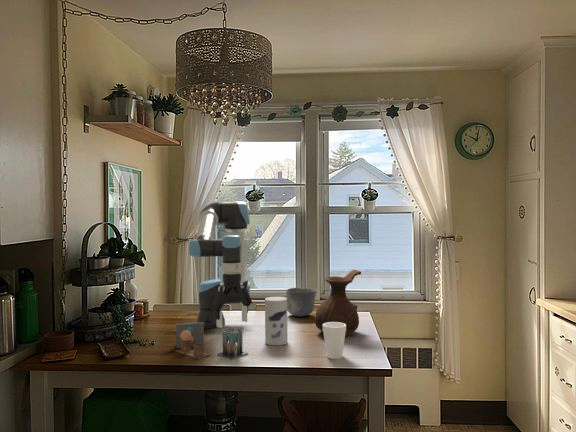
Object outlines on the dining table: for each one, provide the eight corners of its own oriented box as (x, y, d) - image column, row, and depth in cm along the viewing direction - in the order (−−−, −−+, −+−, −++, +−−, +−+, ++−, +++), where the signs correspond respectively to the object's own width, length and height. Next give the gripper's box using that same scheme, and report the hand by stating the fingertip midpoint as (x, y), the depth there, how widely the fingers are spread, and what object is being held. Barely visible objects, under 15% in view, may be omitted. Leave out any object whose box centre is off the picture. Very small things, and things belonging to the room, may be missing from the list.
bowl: (323, 315, 270) (322, 288, 270) (307, 321, 256) (307, 293, 255) (296, 311, 280) (296, 286, 280) (279, 317, 265) (279, 290, 265)
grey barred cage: (217, 355, 198) (216, 330, 198) (233, 350, 204) (233, 326, 204) (231, 359, 192) (231, 334, 191) (248, 354, 198) (247, 330, 198)
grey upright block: (176, 344, 213) (176, 322, 213) (203, 342, 216) (203, 320, 216) (176, 347, 209) (175, 325, 208) (204, 345, 211) (203, 323, 211)
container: (271, 346, 209) (270, 301, 209) (261, 341, 218) (261, 297, 217) (291, 343, 213) (291, 299, 213) (281, 338, 222) (281, 295, 222)
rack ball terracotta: (178, 341, 203) (178, 330, 203) (187, 339, 206) (187, 328, 206) (184, 343, 200) (184, 332, 200) (193, 341, 203) (193, 330, 203)
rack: (175, 351, 203) (175, 340, 203) (187, 348, 208) (187, 337, 208) (198, 359, 192) (198, 347, 192) (210, 355, 197) (209, 344, 197)
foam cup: (321, 353, 199) (321, 322, 199) (343, 352, 200) (343, 321, 200) (325, 360, 189) (324, 327, 189) (348, 359, 190) (347, 327, 190)
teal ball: (223, 336, 198) (228, 332, 195) (232, 333, 201) (237, 328, 198) (228, 346, 196) (233, 342, 193) (237, 343, 199) (242, 338, 196)
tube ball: (224, 355, 198) (222, 343, 199) (233, 352, 201) (231, 341, 202) (231, 353, 195) (229, 342, 196) (240, 351, 198) (237, 340, 199)
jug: (356, 341, 217) (355, 275, 217) (310, 337, 224) (309, 273, 223) (363, 329, 238) (362, 269, 238) (320, 326, 244) (320, 268, 244)
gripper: (213, 276, 186) (214, 331, 186) (259, 270, 204) (260, 320, 204) (201, 275, 191) (202, 328, 191) (248, 269, 209) (248, 317, 209)
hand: (232, 324), depth 198 cm, fingers open, 13 cm apart
